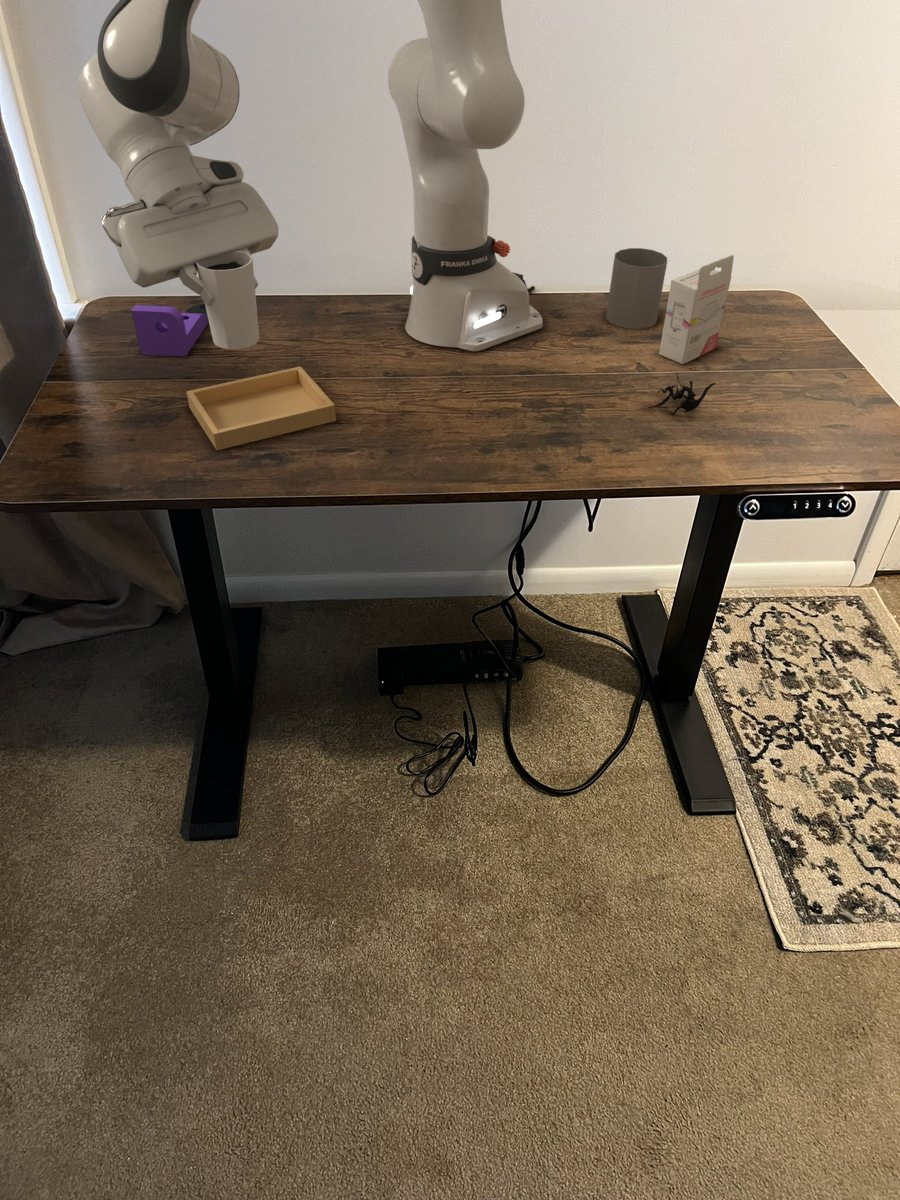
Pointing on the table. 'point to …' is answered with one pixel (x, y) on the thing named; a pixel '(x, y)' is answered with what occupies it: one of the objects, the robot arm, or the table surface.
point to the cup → (636, 288)
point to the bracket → (166, 329)
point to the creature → (689, 401)
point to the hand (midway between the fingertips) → (233, 295)
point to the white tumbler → (231, 299)
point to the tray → (260, 407)
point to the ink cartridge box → (695, 311)
